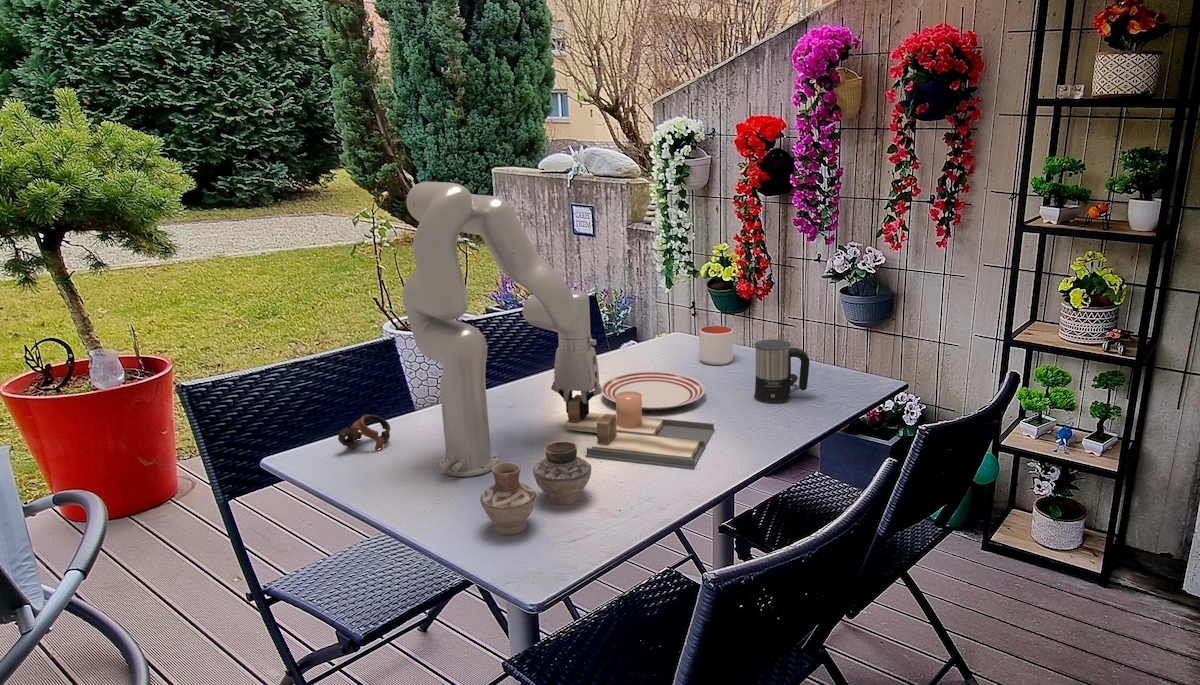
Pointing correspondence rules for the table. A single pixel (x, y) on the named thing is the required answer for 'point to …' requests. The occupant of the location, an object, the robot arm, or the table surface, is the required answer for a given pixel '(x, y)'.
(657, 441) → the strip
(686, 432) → the lane frame
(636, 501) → the table surface
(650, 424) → the strip
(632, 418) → the canister
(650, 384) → the dinner plate
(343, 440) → the brown curved loop
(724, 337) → the cup
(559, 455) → the pottery
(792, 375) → the milk frother
